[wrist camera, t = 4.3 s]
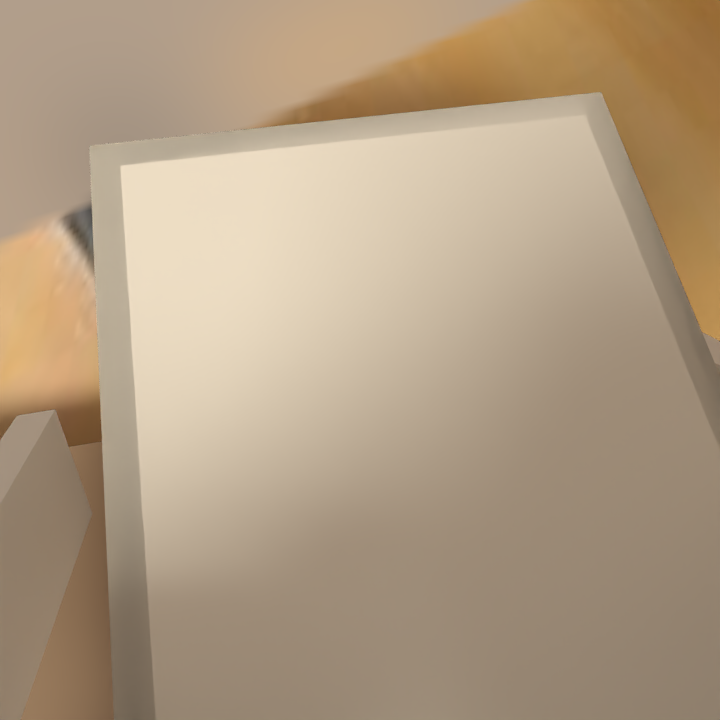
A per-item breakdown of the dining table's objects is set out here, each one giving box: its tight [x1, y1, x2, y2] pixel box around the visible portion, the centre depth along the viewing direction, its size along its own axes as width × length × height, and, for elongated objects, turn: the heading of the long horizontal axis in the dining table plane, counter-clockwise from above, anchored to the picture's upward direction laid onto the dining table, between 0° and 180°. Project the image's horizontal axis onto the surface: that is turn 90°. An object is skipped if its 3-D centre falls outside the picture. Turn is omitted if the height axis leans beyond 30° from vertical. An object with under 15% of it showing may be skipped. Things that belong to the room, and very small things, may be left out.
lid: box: [89, 92, 720, 720], centre depth 11 cm, size 10×12×5 cm
